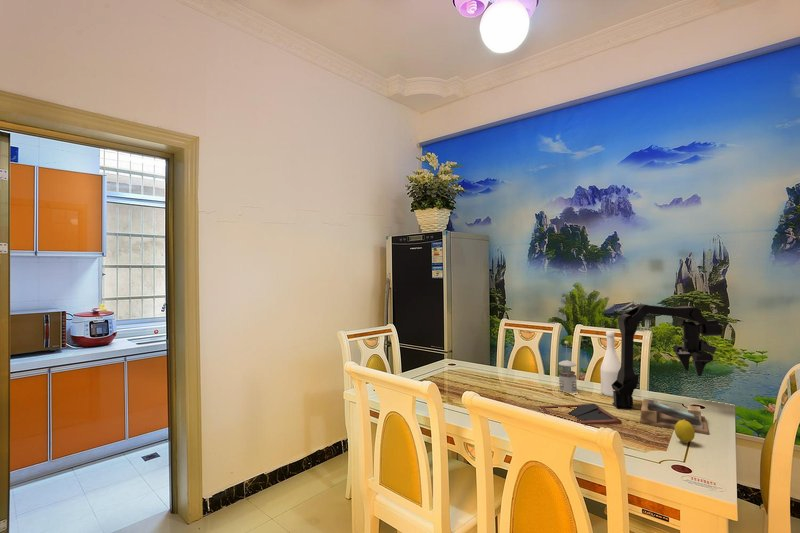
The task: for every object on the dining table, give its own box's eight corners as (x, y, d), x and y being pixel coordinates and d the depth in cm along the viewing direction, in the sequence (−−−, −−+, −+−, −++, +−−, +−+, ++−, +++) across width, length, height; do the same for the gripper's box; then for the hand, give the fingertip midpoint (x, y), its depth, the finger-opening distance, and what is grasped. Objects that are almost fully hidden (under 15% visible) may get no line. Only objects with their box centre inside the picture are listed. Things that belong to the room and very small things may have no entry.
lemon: (695, 448, 132) (694, 423, 132) (675, 444, 135) (674, 420, 135) (694, 441, 137) (693, 418, 137) (674, 438, 140) (673, 415, 140)
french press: (557, 394, 192) (555, 342, 192) (557, 387, 203) (555, 338, 203) (579, 396, 188) (577, 343, 188) (578, 388, 199) (576, 338, 199)
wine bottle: (616, 391, 194) (614, 329, 194) (628, 397, 184) (625, 332, 185) (597, 391, 193) (595, 330, 194) (608, 398, 184) (605, 333, 184)
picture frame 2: (647, 408, 154) (648, 402, 154) (647, 404, 158) (649, 399, 158) (698, 425, 145) (699, 419, 145) (697, 421, 149) (698, 415, 149)
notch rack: (639, 423, 154) (639, 410, 154) (642, 409, 168) (641, 398, 168) (708, 434, 142) (707, 420, 142) (705, 419, 156) (704, 406, 156)
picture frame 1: (594, 407, 174) (538, 410, 173) (594, 403, 174) (538, 405, 173) (621, 425, 154) (558, 428, 153) (621, 420, 154) (558, 423, 153)
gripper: (727, 339, 158) (728, 379, 158) (699, 332, 177) (700, 367, 176) (696, 340, 160) (698, 379, 160) (671, 332, 178) (673, 367, 178)
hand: (693, 373), depth 168 cm, fingers open, 9 cm apart
